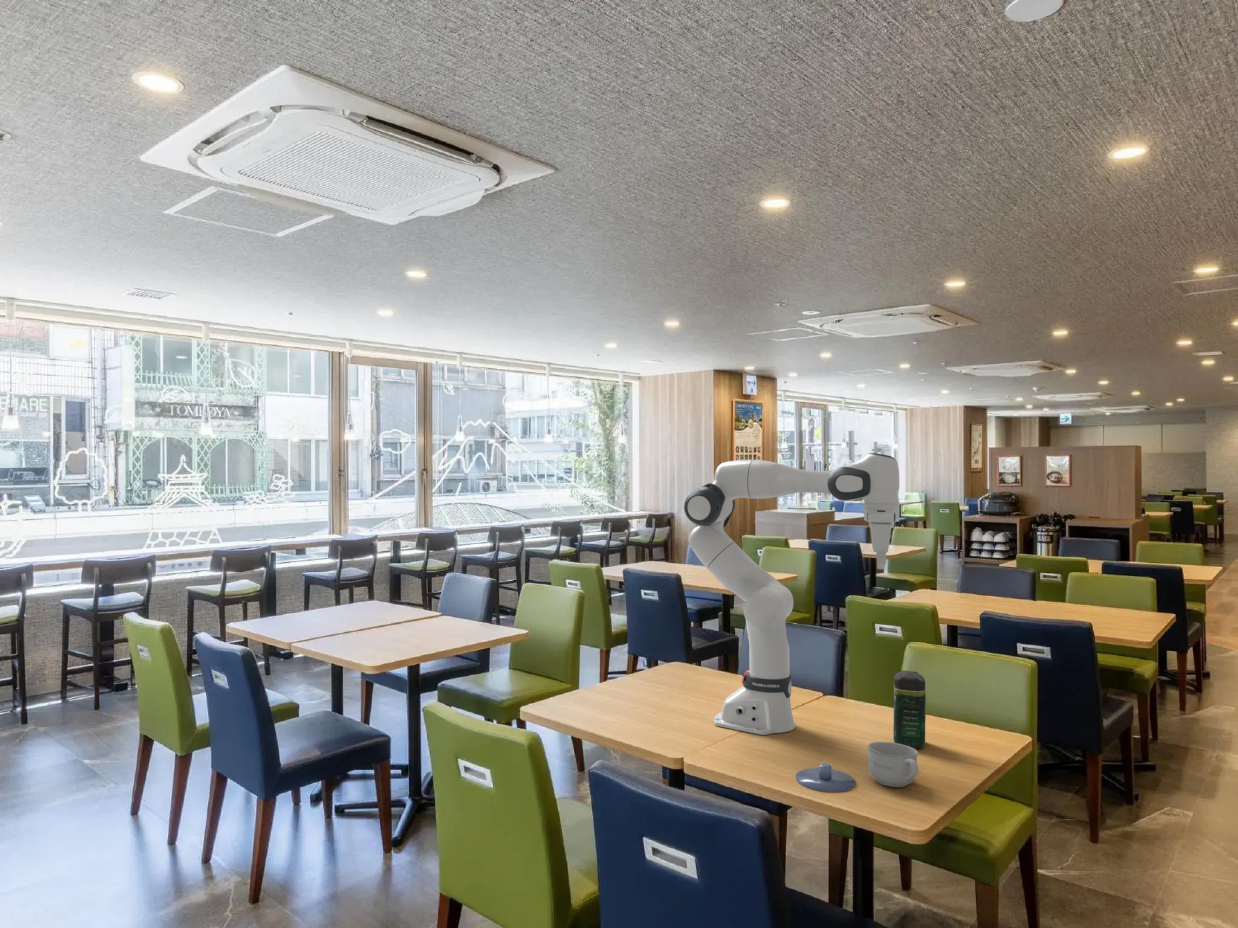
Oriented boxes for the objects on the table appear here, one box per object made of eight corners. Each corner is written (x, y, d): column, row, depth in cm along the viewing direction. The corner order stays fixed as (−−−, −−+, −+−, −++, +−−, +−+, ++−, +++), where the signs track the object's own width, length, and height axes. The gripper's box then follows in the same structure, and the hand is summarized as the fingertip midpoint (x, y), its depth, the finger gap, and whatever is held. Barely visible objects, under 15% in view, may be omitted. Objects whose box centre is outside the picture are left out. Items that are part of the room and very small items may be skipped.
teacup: (860, 774, 186) (860, 740, 186) (905, 773, 187) (905, 739, 187) (885, 798, 172) (885, 761, 173) (933, 796, 173) (933, 759, 174)
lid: (791, 787, 179) (791, 770, 179) (802, 768, 191) (802, 751, 191) (850, 797, 174) (850, 779, 174) (858, 777, 186) (858, 759, 186)
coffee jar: (926, 751, 202) (926, 678, 202) (893, 748, 204) (893, 675, 205) (924, 739, 211) (924, 669, 211) (893, 736, 214) (893, 667, 214)
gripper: (870, 512, 221) (870, 562, 220) (867, 515, 201) (867, 570, 201) (894, 513, 218) (894, 563, 218) (893, 516, 199) (893, 571, 199)
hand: (881, 567), depth 210 cm, fingers open, 8 cm apart
